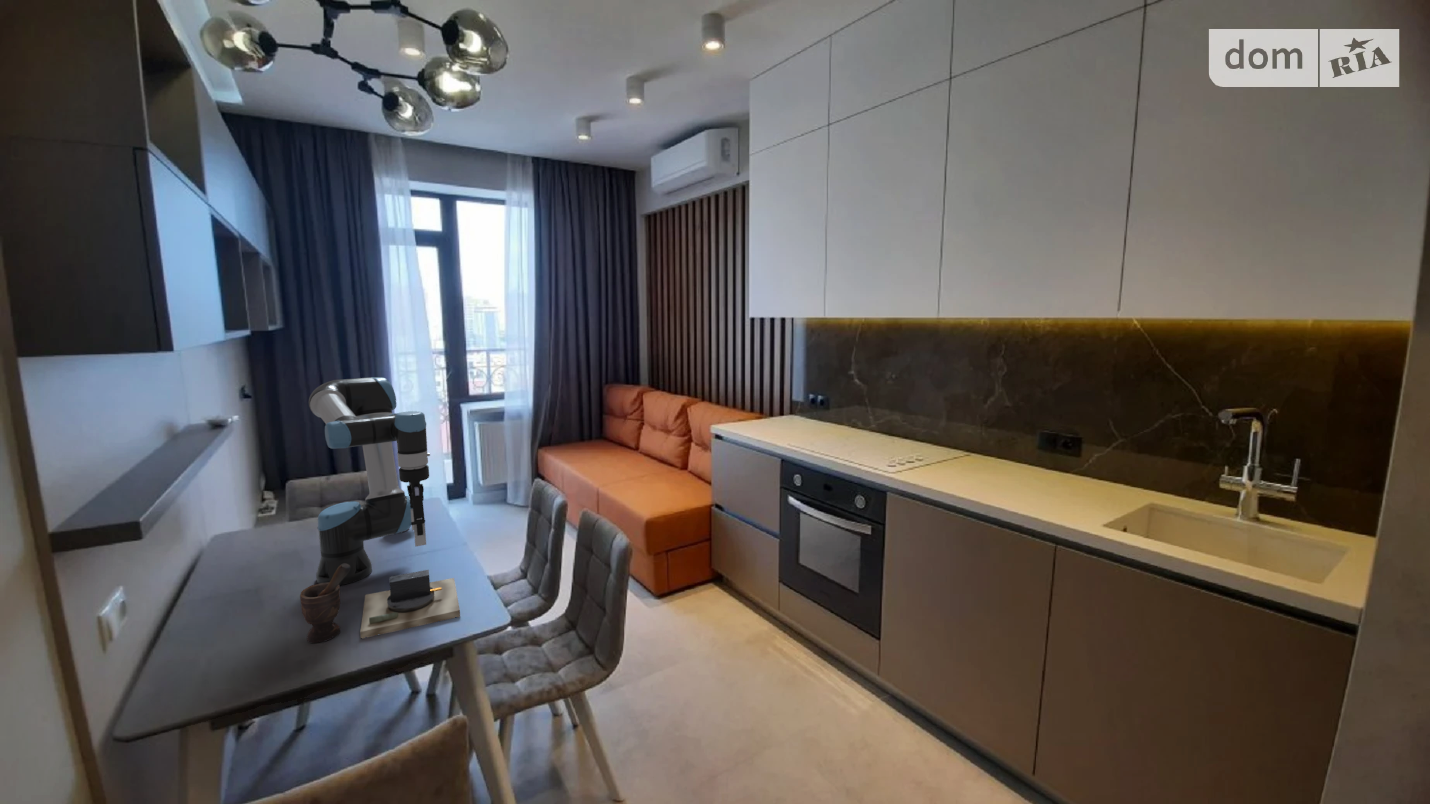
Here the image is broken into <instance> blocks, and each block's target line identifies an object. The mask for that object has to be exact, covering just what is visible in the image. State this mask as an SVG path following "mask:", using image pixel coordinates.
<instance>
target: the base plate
mask: <svg viewBox="0 0 1430 804" xmlns="http://www.w3.org/2000/svg"><path fill="white" fill-rule="evenodd" d="M430 587H432V588H433V589H435V588H440V587H441V588H442V590H439V591H434V600H433V602H432V603H430V604H429V605H427V606H426V607H424V608H421V609H419V610H415V611H411V612H403V613H398V612H392V611H390V610H389V609H388V605H387V599H388V597H389V596H390V589H389V590H383V591H379V592H373V593H367V594H365V595H364V602H363V609H362V616H361V625H360V631H359V633H360V639H361V638H362V639H366V638H365V637H367V638H370V637H375V635H376V636H379V635H378V634H380V635H383V634H388V633H393V632H399V631H402V630H407V629H411V628H416V627H420V626H425V625H429V624H433V623H438V621H439V622H443V621H447V620H452V619H456V618H455V617H457V618H461V610H460V603H459V598H458V593H457V592H458V591H457V586H456V581H455V577H451V578H447V579H441V580H435V581H431V582H430Z"/></svg>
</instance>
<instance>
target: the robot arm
mask: <svg viewBox="0 0 1430 804" xmlns="http://www.w3.org/2000/svg"><path fill="white" fill-rule="evenodd" d="M308 407H309V409H310V411H311V412H312V414H313V415H315V416H316V417H317V418H321V420H322V421H323V423H325V426H324V438H325V441H326V442H325V443H326V445H327V447H328V448H330V449H333V450H334V449H347V448H352V447H353V448H354V447H360V446H361V447H362V450H363V457H364V464H365V471H366V477H367V482H368V483H367V484H368V489H369V494H367V496H366V497H365V503H364V504H360V502H359V501H354V500H353V501H344V502H340V503H336V504H333V505H330V506H329V507H327V508H324V509H323V510H322V511H320V513H319V514H318V516H317V530H318V538H319V540H318V541H319V548H320V549H319V550H320V560H319V563H318V566H317V570H316V574H315V577H316V580H315V581H316V583H317V584H320V583H327V582H330V581H331V579H332V577H333V575H334V573H335V572H336V570H337V568H338V567H339V566H340V565H341V564H344V563H346V564H348V565H350V567H351V568H350V571H349V572H348V574H347V575H346V576H345V577H344V579H343V580H342V581H341V582H340V583H339V585H340V586H342V585H347V584H352V583H355V582H358V581H360V580H362V579H365V578H366V577H368V576H369V575H370V574H371V573H372V571H373V567H372V566H373V564H372V561H371V560H370V558H369V555H368V554H367V552H366V550H365V547H364V541H368V540H369V541H370V540H374V539H378V538H382V537H386V536H390V535H391V536H392V535H396V534H399V533H400V532H402V533H404V532H403V531H406V530H408V529H409V530H410V528H411V530H412V532H414V533H413V534H414V545H415V547H420V546H426V545H427V537H426V536H427V535H426V518H425V510H424V490H425V488H424V484H423V483H421V482H422V481H426V480H428V479H429V478H430V468H429V465H428V464H429V458H428V457H430V456H431V453H430V452H428V441H427V440H428V437H427V422H426V417H425V413H424V412H422V411H417V410H412V411H411V410H410V411H402V412H396V413H393V411H394V410H395V409H396V408H397V396H396V393H395V390H394V387H393V385H392V383H391V382H390V380H388V379H387V378H385V377H373V376H371V377H362V378H361V377H359V378H346V379H333V380H330V381H327V382H325V383H323V384H321V385H319V386H317V387H316V388H315V389H314V390H313V391H312V392H311V394H309V398H308ZM392 442H396V448H397V465H398V466H397V467H399V468H398V474H397V468H396V461H395V455H394V450H393V449H394V448H393V443H392ZM398 476H399V481H400V482H402V483H406V484H407V483H408V485H406V488H407V489H406V490H407V495H406V492H405V490H403V489H402V488H401V487H399V481H398ZM409 530H408V531H409ZM406 532H407V531H406Z"/></svg>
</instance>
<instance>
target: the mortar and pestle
mask: <svg viewBox="0 0 1430 804" xmlns="http://www.w3.org/2000/svg"><path fill="white" fill-rule="evenodd" d="M350 568H351V567H350V565H348V564H346V563H344V564H341V565H340V566H339V567H338V568H337V570H336V572H335V573H334V575H333V577H332V579H331V581H330V582H327V583H320V584H318V583H317V584H311V585H309V586H307V587H306V588H304V589H303V590H301V591H300V595H299V598H300V607H301V613H302V616H303V618H304V620H305V622H306V623H307V624H309V625H311V626H312V627H311V628H310V630H309V631H308V633H307V635H306V640H307V642H308V643H311V644H317V643H322V642H323V643H324V642H326V641H329V640H331V639H333V638H335V637H337V636H339V635H340V633H341V627H340V625H339V624H338V623H336V622H334V619H335V618H337V617H338V615H339V611H340V607H341V595H340V594H341V585H339V583H340V582H341V581H342V580H343V579H344V577H345V576H346V575H347V574H348V572H349V571H350Z"/></svg>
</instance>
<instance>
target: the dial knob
mask: <svg viewBox="0 0 1430 804" xmlns="http://www.w3.org/2000/svg"><path fill="white" fill-rule="evenodd" d="M388 581H389V582H388V583H389V590H390V596H389V597H388V599H387V605H388V609H389V610H390V611H392V612H398V613H403V612H411V611H415V610H419V609H421V608H424V607H426V606H427V605H429V604H430V603H432V602H433V600H434V591H439V590H442V588H441V587H440V588H435V589H433V588H432V587H430V570H429V569H424V570H420V571H418V570H417V571H414V572H408V573H402V574H396V575H391V576H389V580H388Z"/></svg>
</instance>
